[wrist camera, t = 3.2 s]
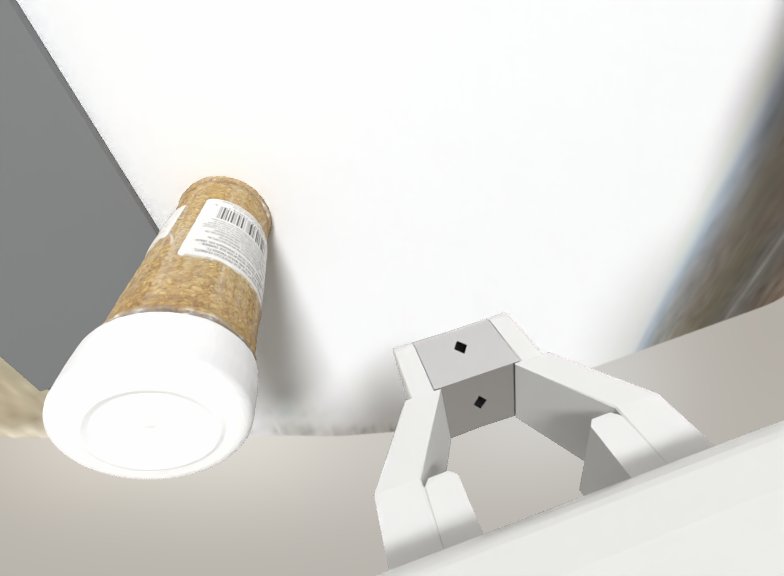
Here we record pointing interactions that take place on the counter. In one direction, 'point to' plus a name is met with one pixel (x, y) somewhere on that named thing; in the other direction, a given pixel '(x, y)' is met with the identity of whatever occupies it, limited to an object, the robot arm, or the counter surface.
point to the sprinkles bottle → (173, 347)
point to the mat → (56, 212)
